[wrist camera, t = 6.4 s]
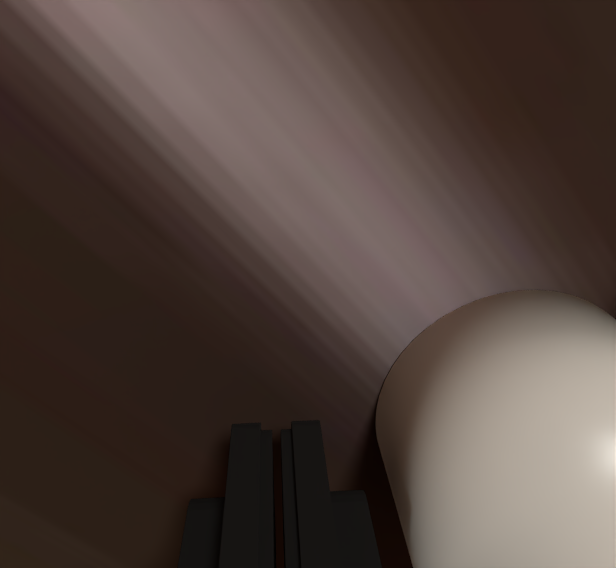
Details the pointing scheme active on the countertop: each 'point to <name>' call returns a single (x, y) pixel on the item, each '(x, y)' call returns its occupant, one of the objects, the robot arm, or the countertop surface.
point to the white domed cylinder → (506, 435)
